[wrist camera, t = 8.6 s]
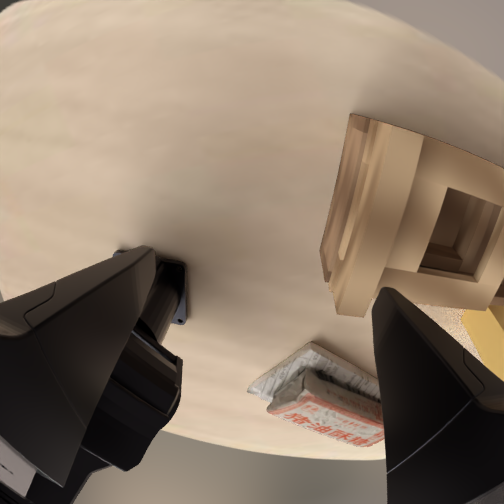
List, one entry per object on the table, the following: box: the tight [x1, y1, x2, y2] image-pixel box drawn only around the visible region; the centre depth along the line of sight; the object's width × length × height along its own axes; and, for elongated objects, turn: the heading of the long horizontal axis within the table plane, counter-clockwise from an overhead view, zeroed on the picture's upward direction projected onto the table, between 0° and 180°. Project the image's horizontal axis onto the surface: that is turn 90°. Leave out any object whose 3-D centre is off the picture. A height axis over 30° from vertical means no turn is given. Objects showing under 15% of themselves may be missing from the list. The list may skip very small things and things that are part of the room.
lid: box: [328, 119, 504, 318], centre depth 14 cm, size 10×13×3 cm
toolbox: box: [320, 113, 504, 306], centre depth 17 cm, size 10×18×4 cm, turn 83°
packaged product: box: [247, 342, 385, 447], centre depth 29 cm, size 18×5×10 cm
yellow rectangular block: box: [461, 304, 504, 381], centre depth 19 cm, size 4×4×9 cm
